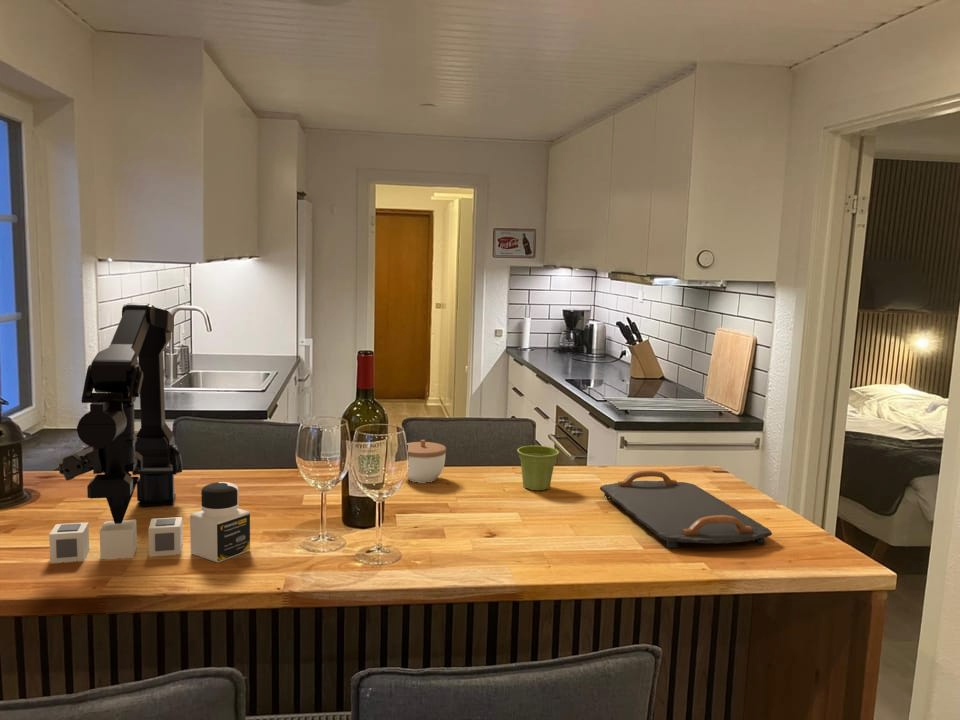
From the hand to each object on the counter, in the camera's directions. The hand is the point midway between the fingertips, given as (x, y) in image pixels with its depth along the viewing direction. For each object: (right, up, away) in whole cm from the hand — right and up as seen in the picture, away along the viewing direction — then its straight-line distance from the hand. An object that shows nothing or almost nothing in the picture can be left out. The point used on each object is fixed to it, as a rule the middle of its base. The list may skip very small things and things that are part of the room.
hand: (118, 523), depth 135 cm
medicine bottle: (+16, -6, +3) cm, 18 cm away
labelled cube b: (-7, -5, -1) cm, 9 cm away
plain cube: (0, -5, +1) cm, 5 cm away
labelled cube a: (+7, -5, +3) cm, 9 cm away
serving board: (+102, -6, +29) cm, 106 cm away
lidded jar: (+48, 0, +51) cm, 69 cm away
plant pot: (+74, -2, +47) cm, 88 cm away
